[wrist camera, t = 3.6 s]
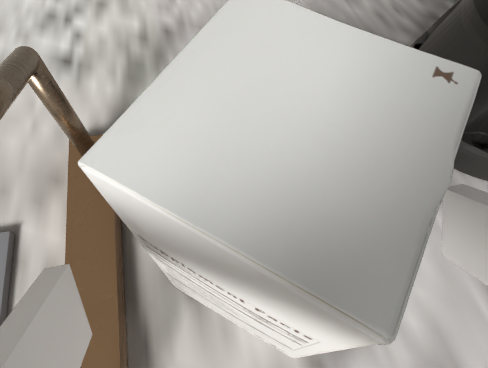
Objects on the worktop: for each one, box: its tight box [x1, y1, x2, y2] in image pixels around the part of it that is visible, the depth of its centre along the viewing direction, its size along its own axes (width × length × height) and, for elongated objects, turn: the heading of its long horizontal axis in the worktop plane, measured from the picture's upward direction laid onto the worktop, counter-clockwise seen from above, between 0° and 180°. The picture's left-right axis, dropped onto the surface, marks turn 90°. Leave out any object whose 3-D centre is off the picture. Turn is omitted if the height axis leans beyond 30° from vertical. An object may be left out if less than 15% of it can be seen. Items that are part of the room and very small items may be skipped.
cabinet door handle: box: [0, 46, 128, 368], centre depth 15 cm, size 3×22×15 cm, turn 12°
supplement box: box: [78, 0, 482, 358], centre depth 16 cm, size 9×9×15 cm
